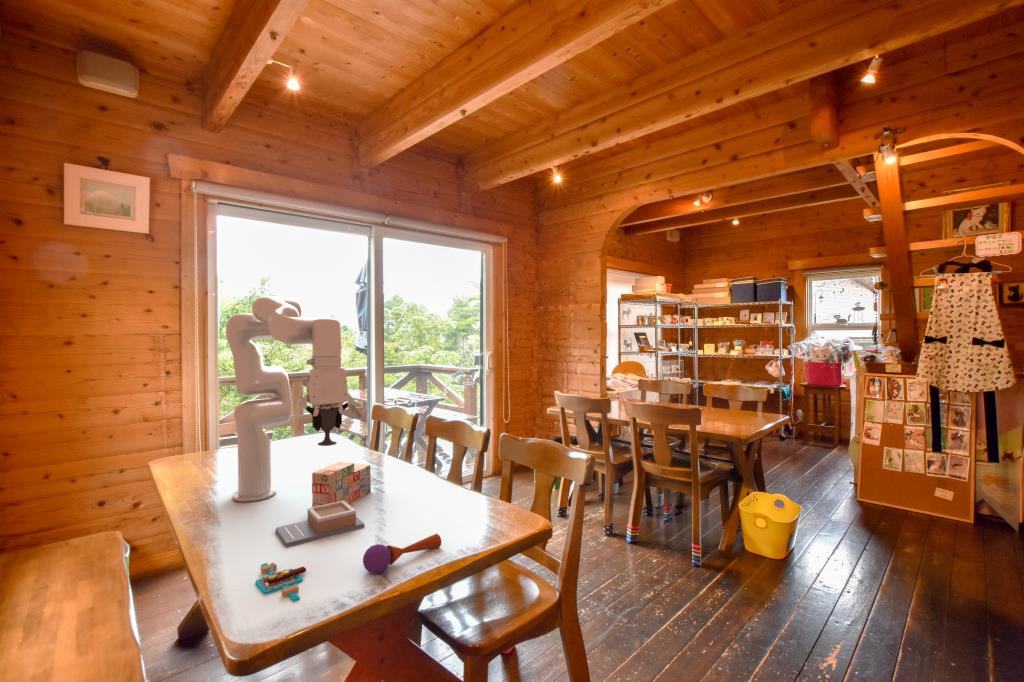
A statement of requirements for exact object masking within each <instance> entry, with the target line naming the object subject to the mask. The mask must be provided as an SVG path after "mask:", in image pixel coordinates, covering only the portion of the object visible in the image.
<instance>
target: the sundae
mask: <svg viewBox="0 0 1024 682" xmlns="http://www.w3.org/2000/svg"><path fill="white" fill-rule="evenodd" d="M338 409H340V408H338V404H331V405H320V409H318V410H319V412H318V414H319V416H320V430H322V431H323V432H324V439H323V440H322V441H320V442H318V443H317V446H321V447H329V446H334V445H336V444H337V442H336V441H335V440H334V441H333V440H332V439H331V436H330V432H331V431H332V430H333V429H334V428H336V427H335V423H336V417H337V412H338Z"/></svg>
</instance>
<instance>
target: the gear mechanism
mask: <svg viewBox="0 0 1024 682" xmlns="http://www.w3.org/2000/svg"><path fill="white" fill-rule="evenodd" d="M260 566H261V567H260V573H261V574H262V575H266V574H267V575H266V576H263V577H261V578H259V579H256V580H255V584H254V585H256V587H257V588H258V589H259V590H260V592H261V593H262V594H263V595H269V594H272V593H275V592H278V591H280V590H281V597H283V598H289V599H290V600H291V601H292V602H293V603H295V602H297V601H301V597H300V596H299V593H300V590H299V589H300V587H299V585H298V584H300V583H302V582H303V581H304V578H303V576H302V575H301V574H303V573H304V574H305V573H306V572H307V568H306V567H305V566H301V567H298V568H297V567H296V568H288V569H284V570H281V571H278V572H276V571H277V570H278V567H277V566H278V565H277V564H276V563H275V562H273V561H271V562H270V564H268V562H265V563H261V564H260ZM293 577H295V579H294V578H293ZM266 583H268V585H267V584H266Z"/></svg>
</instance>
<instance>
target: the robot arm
mask: <svg viewBox="0 0 1024 682" xmlns="http://www.w3.org/2000/svg"><path fill="white" fill-rule="evenodd" d="M225 338H226V342H227V344H228V346H229V348H230V351H231V354H232V357H233V358H232V360H233V367H234V369H233V370H234V377H235V378H234V379H235V386H236V390H237V392H238V394H240V395H241V396H244V397H251V396H253V397H254V396H263V395H264V396H265V395H270V396H271V397H269V398H260V399H259V398H257V399H250V400H245V401H243V402H240V403H238V404H237V405H236V407H235V408H234V411H233V419H234V424H235V429H236V439H237V484H238V485H237V486H238V487H237V491H235V492H234V493H233V494H232V499H233V500H234V501H236V502H241V503H242V502H243V503H246V502H247V503H249V502H257V501H261V500H265V499H268V498H271V497H273V496H274V495H275V494H277V488H276V487H275V486H272V468H271V467H272V462H271V460H272V459H271V458H272V456H271V454H272V453H271V451H272V448H271V444H272V443H271V439H270V437H269V435H268V434H267V433H266V432H265V431H264V429H265V428H268V427H269V428H270V427H275V426H282V425H285V424H287V423H289V422H290V420H292V418H293V417H292V416H293V405H292V396H291V395H292V393H291V386H290V385H291V384H290V379H289V378H290V377H289V376H288V373H287V371H286V370H285V368H283V367H282V366H278V365H271V366H268V365H267V366H265V365H264V359H263V353H262V351H261V349H260V348H259V347H258V346H257V344H256V343H254V342H253V340H277V341H278V342H280V343H282V344H285V345H295V346H296V345H311V356H310V357H311V358H309V359H308V358H307V359H306V365H311V368H309V371H308V377H307V385H306V393H305V395H304V396H303V398H302V399H301V400H300V401H299V403H298V406H299V407H301V408H302V409H304V410H306V411H307V412H308V413H309V414H310V415H311V417H312V418H311V419H312V420H311V422H312V423H311V424H312V426H311V427H312V428H313V429H314V430H315V431H316V432H320V431H321V428H320V416H319V414H318V412H319V410H318V409H320V405H331V404H338V408H340V409H338V412H337V417H336V423H335V427H334V428H337V429H341V425H342V424H343V423H342V422H343V413H344V411H345V410H346V409H348V407H349V406H350V405H351V404H352V403H353V402H355V399H354V398H353V396H351V394H350V393H349V390H348V379H347V372H346V369H345V367H342V323H341V320H339V319H338V318H335V317H334V318H333V317H331V318H329V317H303V306H302V304H301V302H300V301H298V299H296V298H294V297H289V296H288V297H287V296H273V295H272V296H269V295H267V296H266V295H265V296H260V297H258V298H256V299H255V300H254V301H253V302H252V304H251V313H249V312H248V313H247V312H246V313H237V314H233V315H231V316H230V317H229V318H228V319H227V321H226V324H225ZM308 404H310V405H312V406H310V405H308Z"/></svg>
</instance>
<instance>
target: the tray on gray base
mask: <svg viewBox="0 0 1024 682" xmlns="http://www.w3.org/2000/svg"><path fill="white" fill-rule="evenodd" d="M362 528H365V523H364V522H363V521H362V520H361V519H360V518H359V517H358V516H357V510H356V509H355V508H353V506H351V505H350V504H347V503H346V502H345V501H344V500H343V501H338V502H334V503H329V504H324V505H320V506H315V507H312V506H311V507H308V508H307V520H303V521H302V520H301V521H299V522H294V523H290V524H287V525H286V524H285V525H281V526H277V527H275V533H276V534H277V536H278V537H279V538H280V539H281V542H282V543H283V544H284V546H285V547H286V548H288V547H293V546H296V545H300V544H305V543H308V542H312V541H316V540H319V539H324V538H327V537H332V536H335V535H339V534H343V533H347V532H351V531H354V530H359V529H362Z"/></svg>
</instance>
